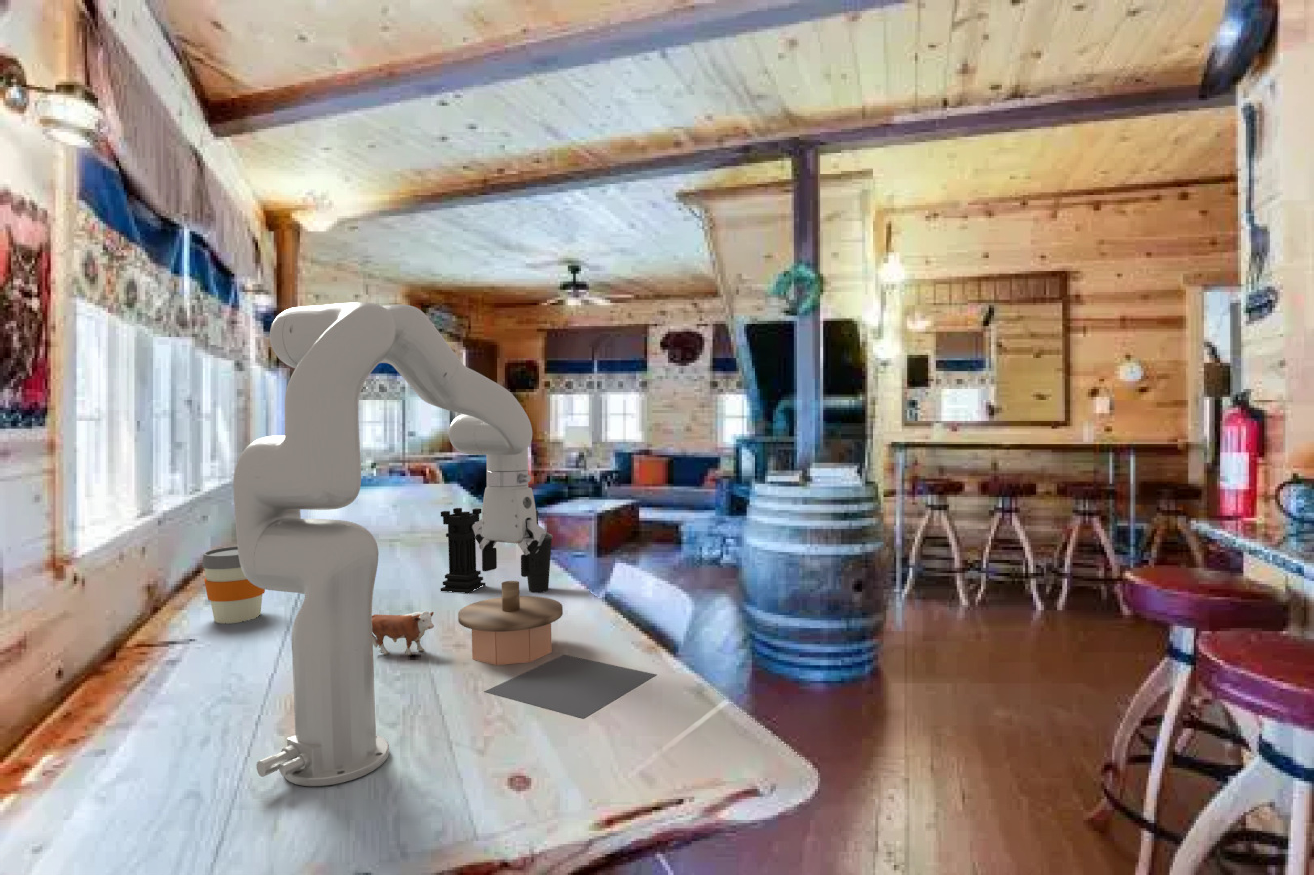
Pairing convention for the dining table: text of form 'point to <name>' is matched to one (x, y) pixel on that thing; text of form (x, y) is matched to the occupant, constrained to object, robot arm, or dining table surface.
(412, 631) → the bull figurine
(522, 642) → the bowl
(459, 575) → the chess piece
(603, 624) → the dining table surface
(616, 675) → the mat
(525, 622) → the lid
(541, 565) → the drinking cup
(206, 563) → the reusable coffee cup
